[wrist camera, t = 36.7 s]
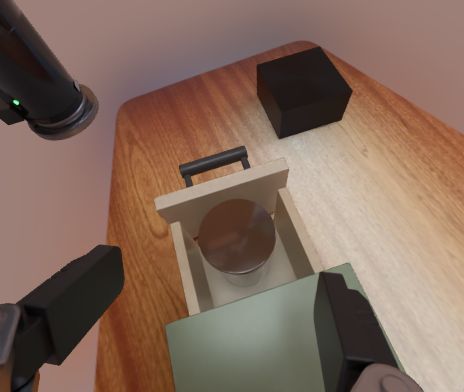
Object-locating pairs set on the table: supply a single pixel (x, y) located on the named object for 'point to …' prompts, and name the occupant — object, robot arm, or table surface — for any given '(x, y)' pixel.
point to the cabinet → (255, 342)
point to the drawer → (225, 188)
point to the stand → (302, 92)
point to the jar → (238, 241)
